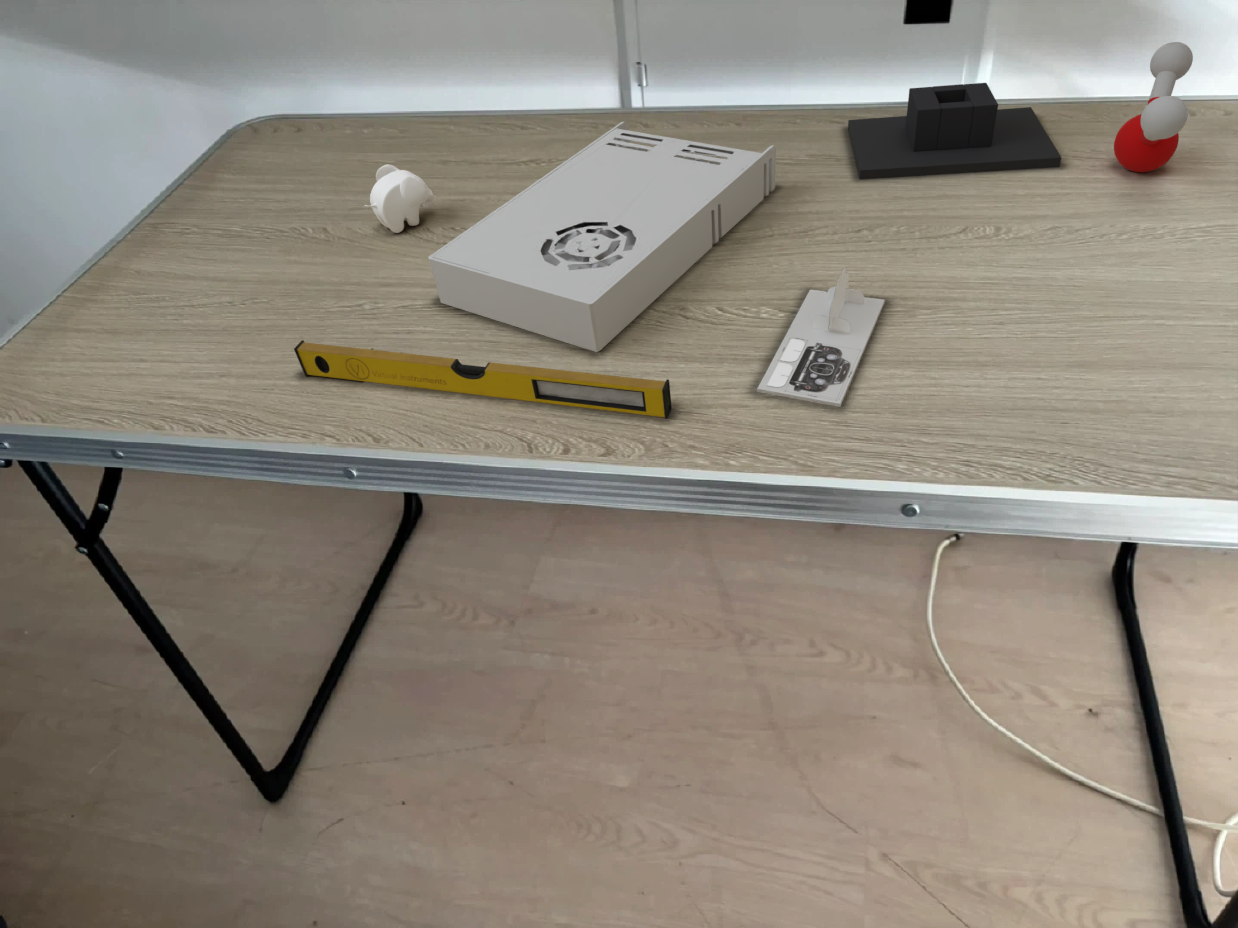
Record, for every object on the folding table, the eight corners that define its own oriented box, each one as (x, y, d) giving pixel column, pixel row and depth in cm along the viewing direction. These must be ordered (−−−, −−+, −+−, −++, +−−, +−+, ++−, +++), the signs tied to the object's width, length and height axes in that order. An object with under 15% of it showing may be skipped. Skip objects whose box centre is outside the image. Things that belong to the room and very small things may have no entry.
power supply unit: (776, 189, 98) (776, 143, 95) (598, 354, 79) (591, 304, 76) (629, 161, 107) (624, 119, 104) (439, 304, 88) (426, 257, 85)
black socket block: (980, 123, 102) (986, 82, 99) (991, 146, 97) (998, 104, 94) (905, 128, 103) (909, 87, 100) (913, 151, 99) (917, 109, 96)
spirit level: (305, 376, 82) (293, 348, 80) (313, 367, 83) (301, 339, 81) (667, 420, 72) (664, 389, 70) (672, 409, 73) (669, 379, 71)
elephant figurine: (452, 219, 101) (440, 167, 97) (388, 247, 98) (372, 195, 94) (422, 200, 105) (409, 150, 101) (360, 227, 102) (344, 176, 98)
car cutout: (809, 293, 83) (811, 248, 80) (884, 303, 80) (889, 258, 77) (756, 393, 73) (756, 346, 70) (840, 408, 71) (843, 361, 68)
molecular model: (1163, 213, 86) (1197, 107, 80) (1098, 206, 88) (1125, 102, 82) (1174, 135, 97) (1204, 36, 91) (1116, 130, 100) (1141, 33, 93)
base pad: (1029, 117, 104) (1036, 79, 102) (1059, 168, 95) (1068, 128, 92) (847, 129, 107) (849, 93, 104) (859, 180, 98) (862, 142, 95)
